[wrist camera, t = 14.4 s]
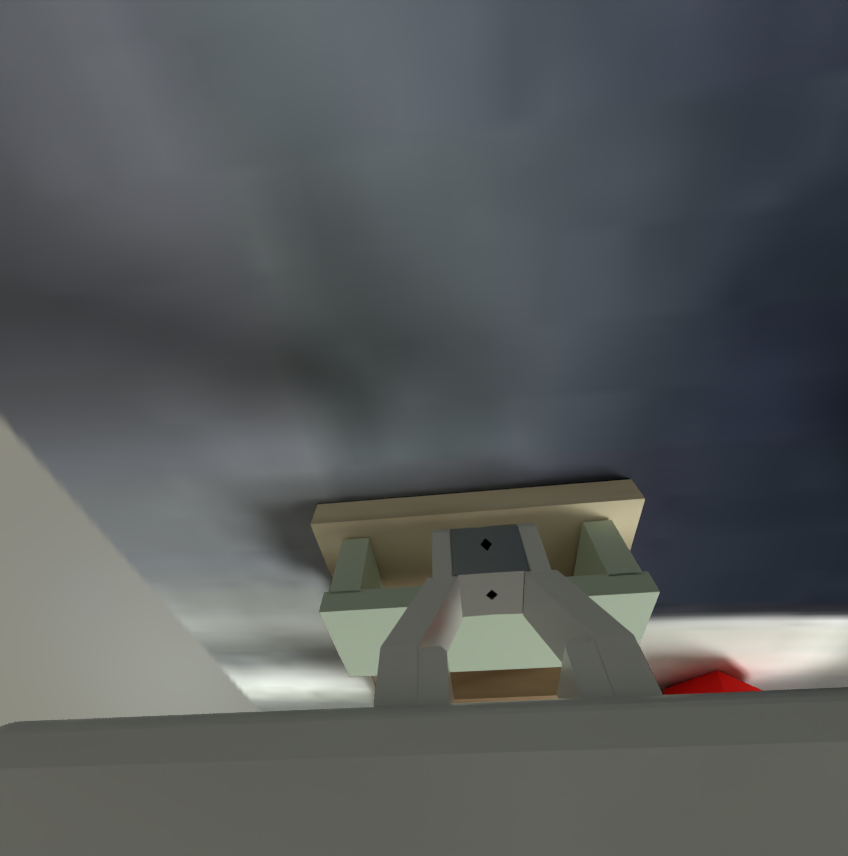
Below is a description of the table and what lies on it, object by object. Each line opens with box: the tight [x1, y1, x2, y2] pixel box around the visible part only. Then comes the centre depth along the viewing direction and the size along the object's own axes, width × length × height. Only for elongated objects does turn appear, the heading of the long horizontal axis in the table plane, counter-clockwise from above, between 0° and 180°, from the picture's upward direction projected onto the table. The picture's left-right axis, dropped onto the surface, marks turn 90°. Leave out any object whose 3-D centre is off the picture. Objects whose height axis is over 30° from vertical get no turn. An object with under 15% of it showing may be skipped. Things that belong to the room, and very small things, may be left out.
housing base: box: [310, 479, 645, 703], centre depth 21 cm, size 22×14×3 cm, turn 7°
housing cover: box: [319, 520, 660, 677], centre depth 15 cm, size 5×12×3 cm, turn 96°
